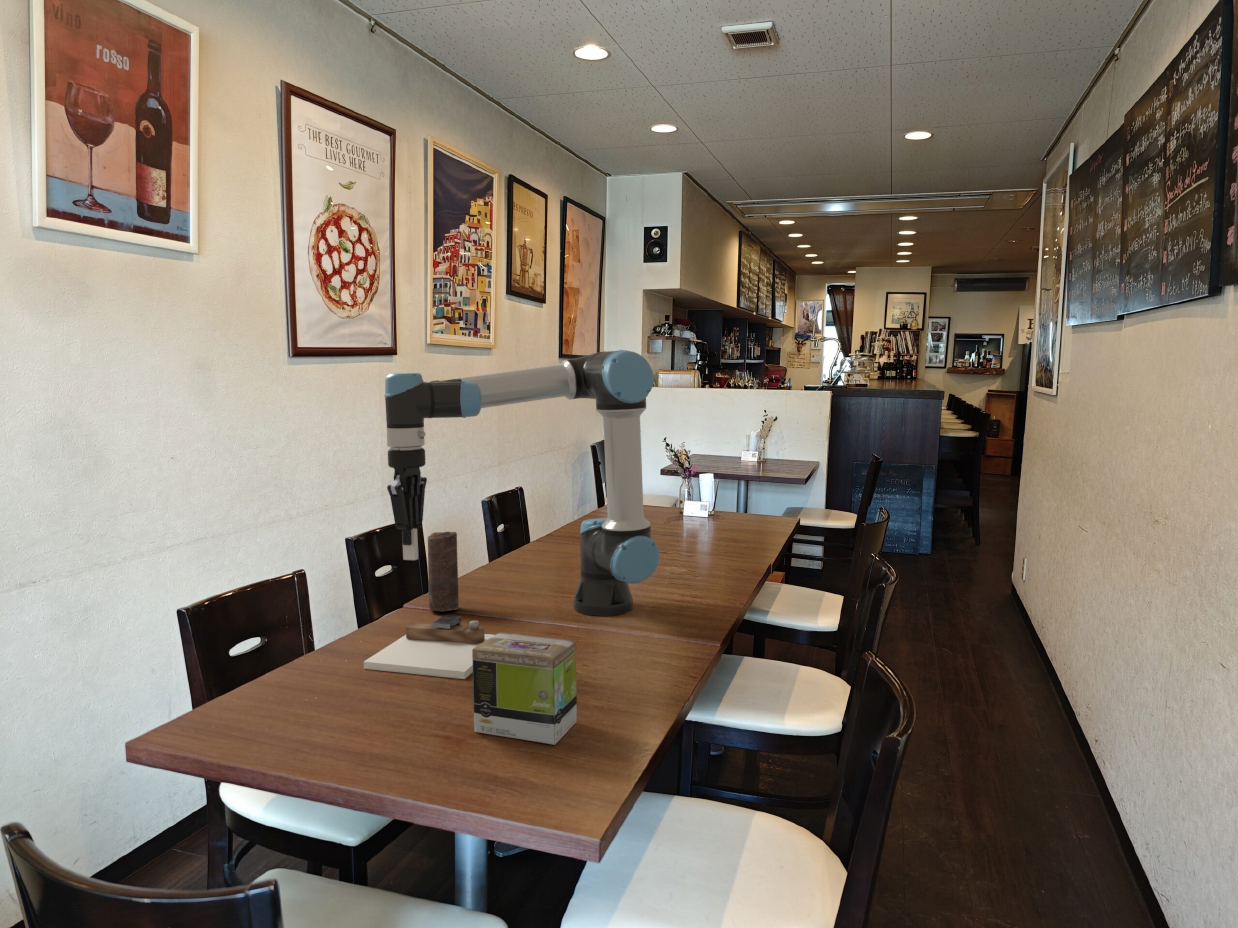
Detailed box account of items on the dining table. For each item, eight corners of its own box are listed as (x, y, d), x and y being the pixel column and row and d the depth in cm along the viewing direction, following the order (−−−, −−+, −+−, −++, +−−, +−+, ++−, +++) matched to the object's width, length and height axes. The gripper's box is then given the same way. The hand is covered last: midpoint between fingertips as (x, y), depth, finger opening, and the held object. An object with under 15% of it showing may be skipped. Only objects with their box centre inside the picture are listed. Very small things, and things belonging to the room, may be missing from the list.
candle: (451, 616, 195) (449, 536, 193) (423, 614, 197) (421, 535, 195) (463, 607, 203) (462, 530, 201) (436, 605, 204) (434, 529, 202)
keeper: (461, 634, 177) (461, 616, 177) (450, 642, 172) (449, 624, 171) (445, 633, 178) (444, 614, 178) (433, 641, 173) (432, 622, 172)
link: (487, 637, 175) (487, 619, 174) (480, 644, 171) (480, 625, 170) (413, 633, 178) (412, 615, 177) (404, 639, 173) (404, 621, 173)
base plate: (506, 642, 177) (506, 635, 177) (464, 679, 156) (464, 671, 155) (416, 634, 182) (416, 627, 182) (363, 668, 161) (363, 661, 161)
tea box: (578, 721, 137) (578, 638, 135) (554, 747, 128) (554, 658, 126) (500, 709, 142) (499, 629, 140) (471, 733, 132) (470, 647, 131)
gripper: (407, 451, 158) (412, 567, 161) (437, 445, 170) (440, 552, 173) (373, 450, 159) (378, 565, 162) (405, 444, 172) (409, 551, 175)
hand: (410, 559), depth 168 cm, fingers closed
